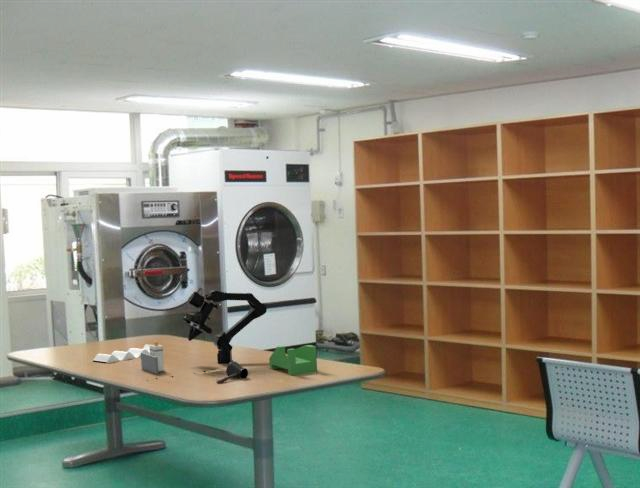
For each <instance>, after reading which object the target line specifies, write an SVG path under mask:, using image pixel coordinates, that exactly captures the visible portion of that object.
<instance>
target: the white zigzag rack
mask: <svg viewBox="0 0 640 488" xmlns="http://www.w3.org/2000/svg"><path fill="white" fill-rule="evenodd" d="M150 345H151V344H146V343H145V344H144V346H143V347H142V348H137V347H136V348H135V347H130V348H129V349H128V350H127V351H122V350H121V351H120V350H114V351H112V353H111V354H105V353H97V354H96V355H95V357H94V358H93V360H92V363H99V364H104V365H105V364H106V363H107V364H111V363H116V362H117V361H118V362H121V361H122V362H123V361H127V360H132V359H138V358H141V353H146V354H149V355H150Z"/></svg>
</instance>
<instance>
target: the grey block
mask: <svg viewBox="0 0 640 488" xmlns="http://www.w3.org/2000/svg"><path fill="white" fill-rule="evenodd" d="M140 360H141V361H140V362H141V363H140V364H141V370H144V371H147V372H149V373H152V374H155V375H158V374H159V371H158V369H159V368H160V360H158V357H156V356H152V355H149V354H146V353H141V357H140Z"/></svg>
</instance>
